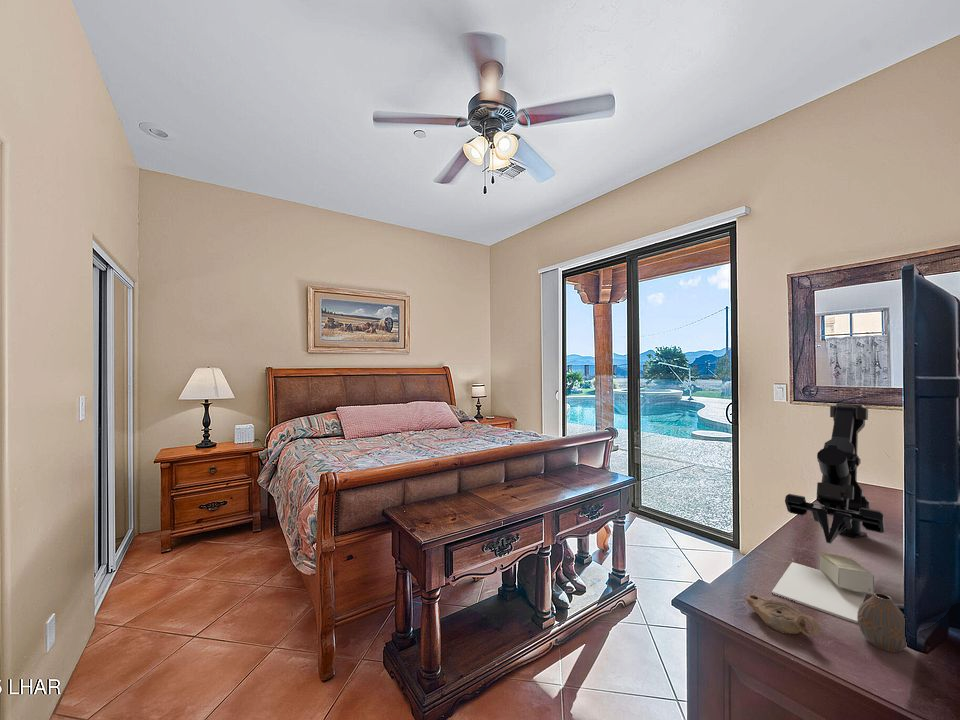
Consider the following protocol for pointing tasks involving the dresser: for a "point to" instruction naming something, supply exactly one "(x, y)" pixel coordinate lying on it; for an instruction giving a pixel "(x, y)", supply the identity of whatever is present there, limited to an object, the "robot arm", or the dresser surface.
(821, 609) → the notebook
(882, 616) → the vase
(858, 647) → the dresser surface
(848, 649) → the dresser surface
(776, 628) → the oil lamp
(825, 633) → the dresser surface
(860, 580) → the skincare box
